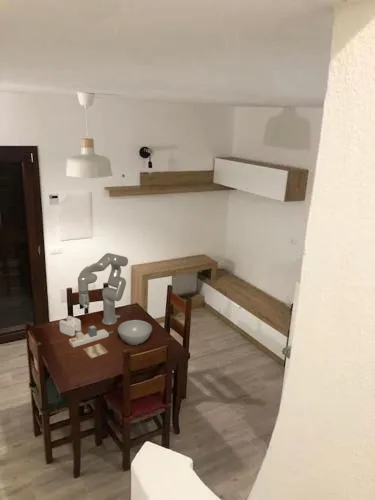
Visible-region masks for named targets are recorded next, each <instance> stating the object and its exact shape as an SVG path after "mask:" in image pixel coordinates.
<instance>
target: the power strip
mask: <svg viewBox="0 0 375 500" xmlns="http://www.w3.org/2000/svg"><path fill="white" fill-rule="evenodd" d="M112 333H114V331H113V330H112V331H107V330H106V329H105V328H102V329H99V330H97V336H93V337H90V336H89V335H88V333H86V334H84V333H83V332H82V331H80V332H75V336H74V337H72V338H70V339H68V343H69V345H70V346H71V347H72V348H76V347H79V346H82V345H86V344H89V343H92V342H96V341H98V340H101V339H105V338H108V337H109V335H110V334H112Z"/></svg>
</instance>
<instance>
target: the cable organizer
mask: <svg viewBox="0 0 375 500" xmlns="http://www.w3.org/2000/svg"><path fill="white" fill-rule="evenodd" d="M58 325H59V332H60V333H62V334H63V335H66V336H68V337H69V336H70V337H75V336H76V333H77V332H82V321H81V320H80V318H76V317H74V316H72V315H68V316H66V320H64V319H61V320H59V324H58Z"/></svg>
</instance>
